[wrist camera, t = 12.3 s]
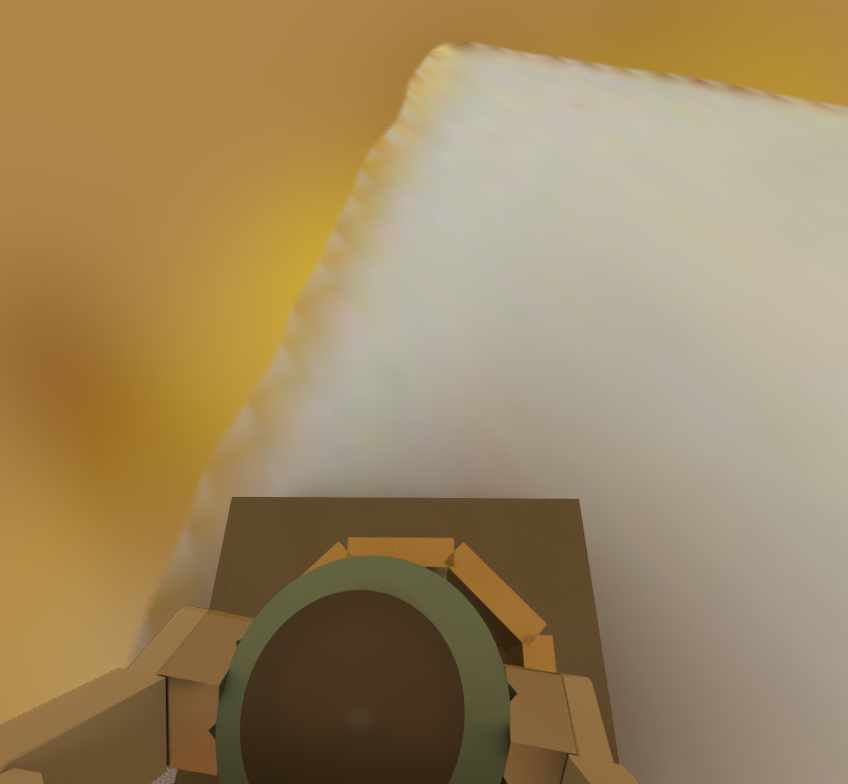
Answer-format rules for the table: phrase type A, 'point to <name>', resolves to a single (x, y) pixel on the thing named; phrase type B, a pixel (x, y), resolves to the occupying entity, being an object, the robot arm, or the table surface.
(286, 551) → the octagon ring base
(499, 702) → the bottle
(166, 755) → the robot arm
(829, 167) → the table surface
